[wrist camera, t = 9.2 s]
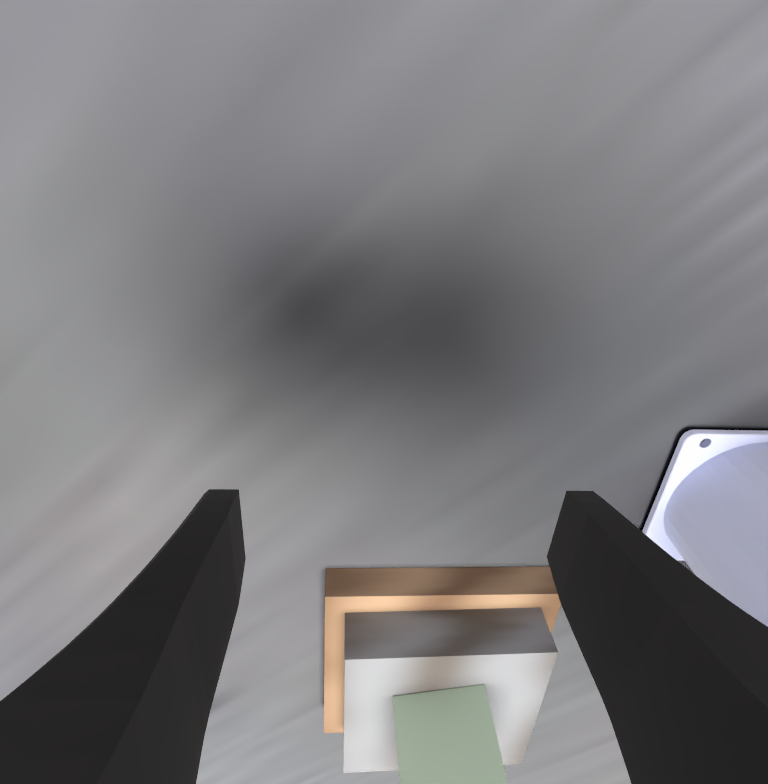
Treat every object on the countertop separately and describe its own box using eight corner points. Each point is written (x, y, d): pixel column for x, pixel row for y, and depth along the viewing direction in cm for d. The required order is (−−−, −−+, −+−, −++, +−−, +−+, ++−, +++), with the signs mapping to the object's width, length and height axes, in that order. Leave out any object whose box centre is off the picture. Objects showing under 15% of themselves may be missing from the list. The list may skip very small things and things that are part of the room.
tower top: (540, 607, 27) (558, 652, 25) (509, 717, 32) (521, 763, 30) (344, 612, 26) (344, 659, 24) (343, 725, 31) (343, 772, 29)
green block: (484, 684, 26) (520, 835, 20) (485, 734, 28) (518, 881, 23) (392, 696, 25) (405, 851, 20) (401, 745, 28) (414, 896, 23)
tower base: (548, 555, 29) (564, 593, 26) (508, 686, 35) (519, 725, 32) (326, 557, 28) (325, 596, 25) (325, 691, 33) (323, 732, 31)
